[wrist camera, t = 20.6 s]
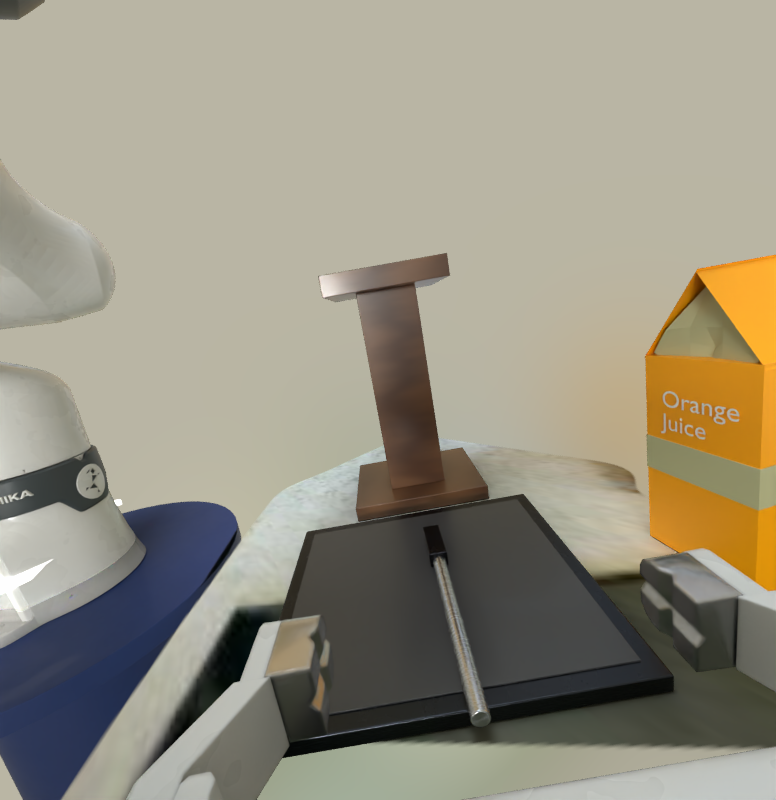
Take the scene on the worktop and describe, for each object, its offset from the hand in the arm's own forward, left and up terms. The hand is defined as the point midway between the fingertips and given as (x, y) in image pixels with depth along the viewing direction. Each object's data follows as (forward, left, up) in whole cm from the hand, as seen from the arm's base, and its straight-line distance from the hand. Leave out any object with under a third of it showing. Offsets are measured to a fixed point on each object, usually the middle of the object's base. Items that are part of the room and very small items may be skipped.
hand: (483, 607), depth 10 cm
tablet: (-1, +17, -13) cm, 21 cm away
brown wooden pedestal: (0, +35, -13) cm, 37 cm away
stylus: (0, +14, -12) cm, 18 cm away
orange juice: (+22, +16, -13) cm, 30 cm away
